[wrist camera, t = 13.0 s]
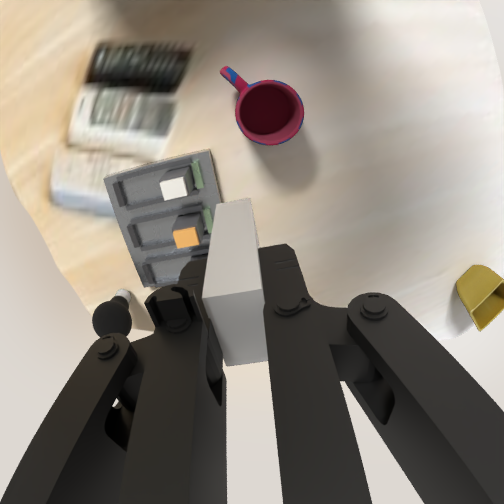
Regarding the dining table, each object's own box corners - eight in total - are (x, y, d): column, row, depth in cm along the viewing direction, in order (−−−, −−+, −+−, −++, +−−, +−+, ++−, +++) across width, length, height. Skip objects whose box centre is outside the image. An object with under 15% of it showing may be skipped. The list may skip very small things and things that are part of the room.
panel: (107, 175, 36) (100, 180, 34) (209, 148, 35) (207, 152, 33) (146, 281, 44) (142, 290, 42) (236, 266, 43) (236, 275, 41)
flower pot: (458, 304, 51) (480, 333, 43) (445, 283, 48) (469, 313, 40) (486, 275, 48) (511, 301, 40) (476, 251, 45) (504, 278, 37)
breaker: (166, 171, 34) (157, 182, 31) (190, 166, 34) (183, 175, 30) (171, 190, 36) (163, 202, 32) (194, 184, 35) (189, 196, 32)
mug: (258, 147, 35) (263, 158, 29) (206, 84, 31) (199, 82, 25) (303, 115, 33) (317, 120, 28) (252, 51, 29) (255, 41, 23)
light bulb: (105, 275, 43) (82, 317, 34) (140, 277, 44) (121, 322, 35) (112, 304, 46) (92, 347, 37) (144, 307, 46) (129, 353, 38)
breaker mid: (177, 216, 37) (170, 232, 34) (200, 212, 37) (195, 227, 33) (182, 233, 39) (176, 250, 35) (204, 229, 38) (201, 245, 35)
